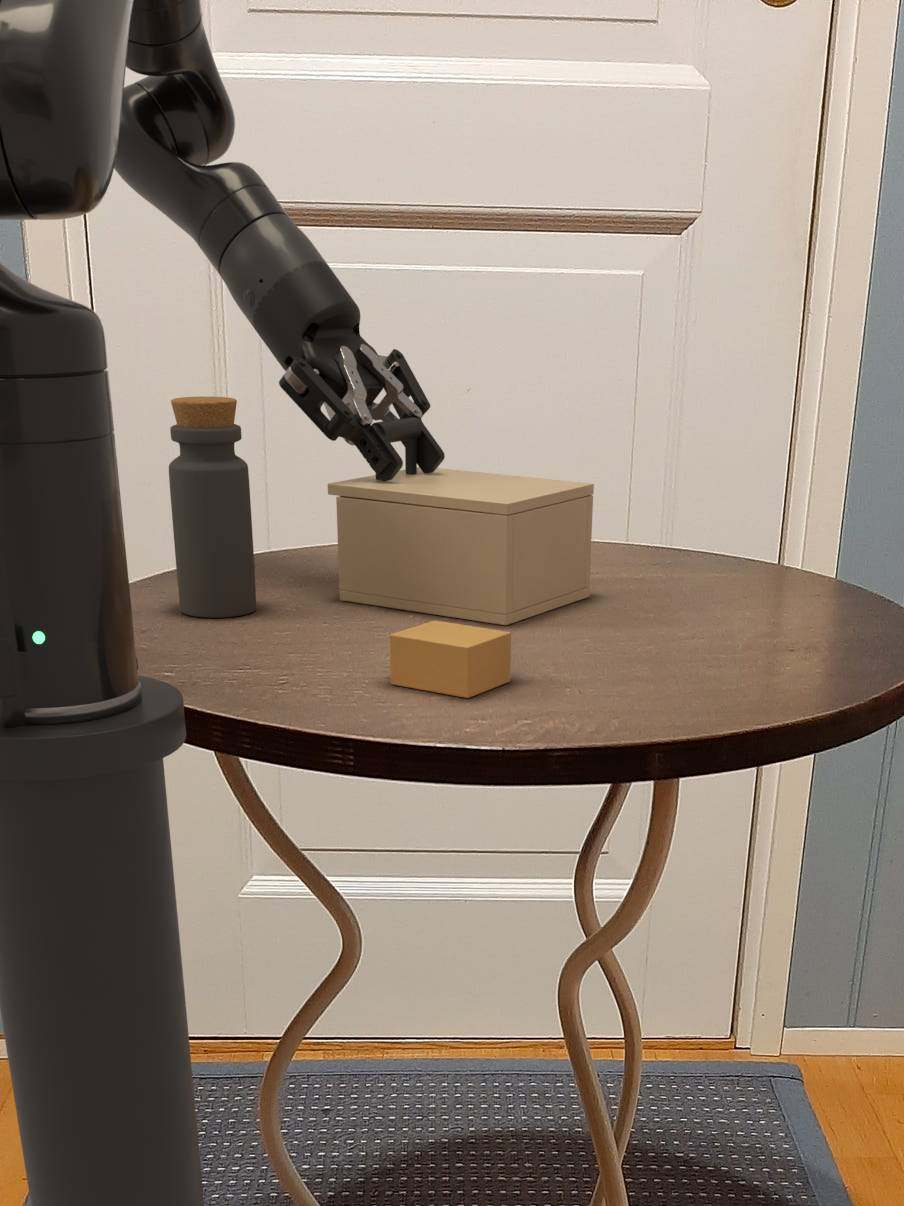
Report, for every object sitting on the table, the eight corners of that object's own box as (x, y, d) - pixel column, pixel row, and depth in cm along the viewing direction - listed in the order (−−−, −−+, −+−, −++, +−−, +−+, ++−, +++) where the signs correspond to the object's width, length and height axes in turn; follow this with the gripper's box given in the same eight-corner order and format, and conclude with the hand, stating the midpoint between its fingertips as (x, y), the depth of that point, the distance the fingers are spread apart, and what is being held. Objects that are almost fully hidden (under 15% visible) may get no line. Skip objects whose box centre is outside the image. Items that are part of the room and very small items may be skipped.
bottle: (271, 607, 118) (260, 398, 111) (227, 621, 113) (212, 404, 106) (210, 599, 120) (195, 394, 113) (164, 613, 115) (145, 400, 108)
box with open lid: (339, 600, 120) (335, 496, 116) (430, 575, 129) (429, 478, 126) (505, 625, 113) (507, 516, 109) (589, 597, 122) (593, 495, 118)
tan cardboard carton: (390, 684, 97) (389, 634, 96) (434, 668, 101) (434, 619, 100) (468, 698, 95) (468, 647, 93) (510, 681, 98) (511, 632, 97)
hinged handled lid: (327, 494, 117) (325, 424, 114) (421, 476, 126) (421, 411, 124) (507, 515, 109) (509, 440, 107) (593, 494, 118) (596, 425, 116)
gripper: (253, 257, 111) (388, 445, 111) (370, 257, 122) (494, 428, 122) (204, 334, 116) (333, 513, 116) (321, 327, 127) (439, 491, 127)
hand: (415, 469), depth 119 cm, fingers closed on hinged handled lid, 5 cm apart
